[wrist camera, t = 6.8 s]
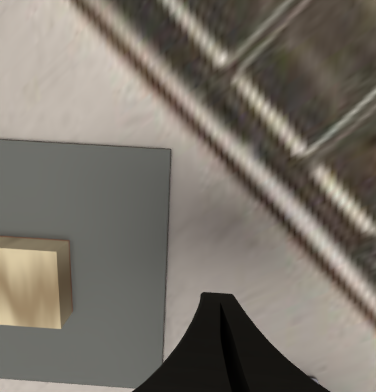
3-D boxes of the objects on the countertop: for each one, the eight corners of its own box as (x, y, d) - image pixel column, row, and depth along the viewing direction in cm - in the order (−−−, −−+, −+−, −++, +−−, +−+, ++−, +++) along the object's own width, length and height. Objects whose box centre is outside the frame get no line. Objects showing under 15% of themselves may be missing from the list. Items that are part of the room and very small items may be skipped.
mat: (161, 384, 24) (160, 390, 24) (-22, 370, 25) (-27, 376, 24) (171, 149, 20) (170, 149, 19) (-56, 136, 20) (-63, 136, 19)
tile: (60, 329, 20) (-35, 322, 21) (72, 311, 22) (-15, 305, 23) (56, 251, 19) (-47, 244, 19) (69, 240, 21) (-25, 234, 21)
